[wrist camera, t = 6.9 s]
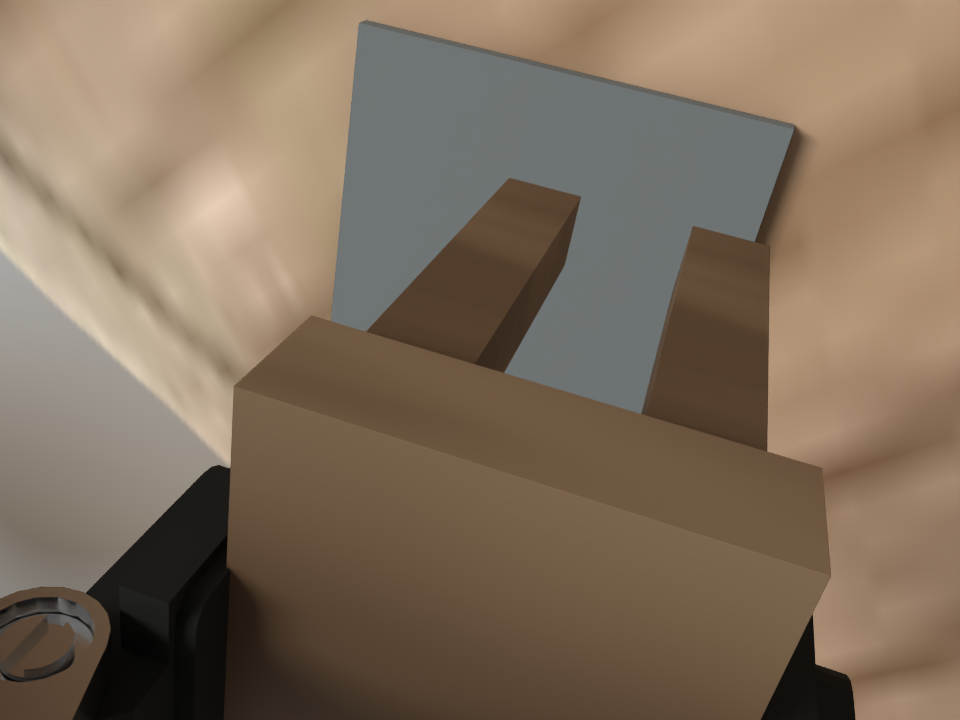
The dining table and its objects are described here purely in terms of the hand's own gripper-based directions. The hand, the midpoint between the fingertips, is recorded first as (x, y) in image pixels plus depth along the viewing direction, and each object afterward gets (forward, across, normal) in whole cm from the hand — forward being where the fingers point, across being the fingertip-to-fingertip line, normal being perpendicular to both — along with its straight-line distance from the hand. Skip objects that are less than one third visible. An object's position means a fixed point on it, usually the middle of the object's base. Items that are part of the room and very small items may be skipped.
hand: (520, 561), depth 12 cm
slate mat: (+20, +4, +5) cm, 21 cm away
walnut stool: (+5, 0, 0) cm, 5 cm away
